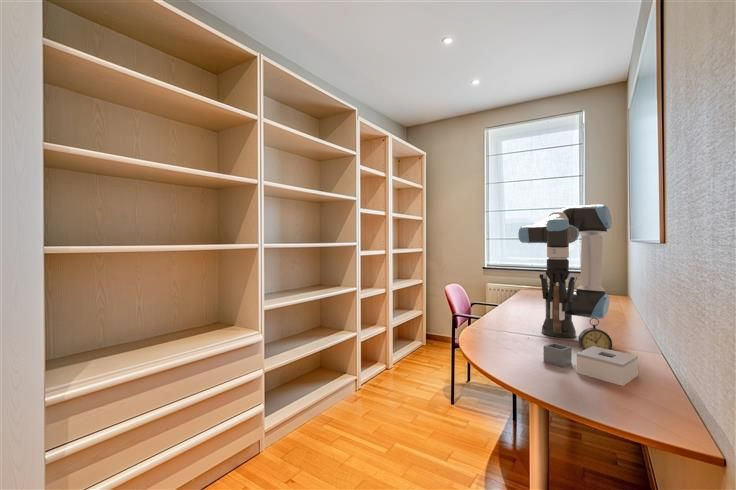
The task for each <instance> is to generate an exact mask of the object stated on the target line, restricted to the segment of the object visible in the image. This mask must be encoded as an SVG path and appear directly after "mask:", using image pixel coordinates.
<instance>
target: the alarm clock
mask: <svg viewBox="0 0 736 490" xmlns="http://www.w3.org/2000/svg"><path fill="white" fill-rule="evenodd" d="M593 319H595V320H597V324H592V323H591V321H592V320H593ZM589 324H590V325H591V326H592V327H588V328H585V329H584V330H582V331H581V332H580V334H578V335H579V336H578V339H577V341H578V345H579V347H580V348H581V349H582V351H583V350H585V349H588V348H590V347H592V346H595V347H600V348H604V349H609V350H612V348H613V341H612V338H611V337H610V335H609V334H608V333H607V332H605V331H604V330H602V329H600V328H596V326H598V325H599V324H600V319H597V318H590V319H589Z"/></svg>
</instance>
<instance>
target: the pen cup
mask: <svg viewBox="0 0 736 490" xmlns="http://www.w3.org/2000/svg"><path fill="white" fill-rule="evenodd" d="M572 351H573V349H572V346H568V345H564V344H560V343H556V342H550V343H547V344H545V345H543V363H546V364H550V365H552V366H553V365H554V366H556V367H561V368H564V367H566V366H567V367H568V365H569V366H570V365H571V364H572V361H573V360H572V357H573V356H572Z"/></svg>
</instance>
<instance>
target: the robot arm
mask: <svg viewBox="0 0 736 490" xmlns="http://www.w3.org/2000/svg"><path fill="white" fill-rule="evenodd" d="M612 221H613V220H612V215H611V211H610V209H609V207H608V206H607V205H606V204H589V205H586V204H585V205H572V206H567V207H563V208H561V209H558V210H555V211H553V212H551V213H550V214H549V215H548V217H547V218H544V219H542V220H541V221H539V222H536V223H534V224H532V225H524V226H520V228H519V229H518V241H520V243H522V244H546V258H547V259H546V270H545V273H540V274H538V275H539V276H538V277H539V278H540V282H541V293H542V299H543V300H545V318H544V321H543V324H542V326H541V333H542V334H544V335H546V336H549V337H554V338H563V339H564V338H565V339H566V338H567V339H570V338H571V339H572V338H574V337H576V336H577V330H576V328H575V326H574V322H573V316H575V317H584V318H590V319H592V318H597V319H598V320H602V319H603V318H605V317H606V316H607V314H608V312H609V311H608V310H609V307H610V295H609V294H606V290H605V288H603V286H602V282H603V280H602V278H603V275H602V274H603V247H604V245H603V243H604V236H605V235H606V234H608V233H607V232H608V230H610V229H611V228H612V223H613V222H612ZM579 236H581V245H580V246H581V248H580V250H581V251H580V277H579V278H580V279H579V281H580V282H579V283H580V284H579V286H577V287H576V291H575V283H576V281H578V280H577V279H578V277H577V276H574V275H571V273H570V271H569V268H570V264H569V263H570V262H569V261H570V260H569V259H568V258H569V257H570V246H569V245H570V244H572V243H575V242H577V240H578V238H579ZM548 279H549V283H548ZM567 279H568V285H567V281H566V280H567ZM557 284H558V285H557ZM548 285H549V286H548ZM566 285H567V287H566ZM553 286H559V287H560V295H561V303H559V320H561V333H555V332H553ZM597 319H596V320H597Z"/></svg>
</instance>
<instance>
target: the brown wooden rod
mask: <svg viewBox="0 0 736 490" xmlns="http://www.w3.org/2000/svg"><path fill="white" fill-rule="evenodd" d="M559 303H561V295H560V287H559V285H556V286H553V332H555V333H561V320H559Z"/></svg>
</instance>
